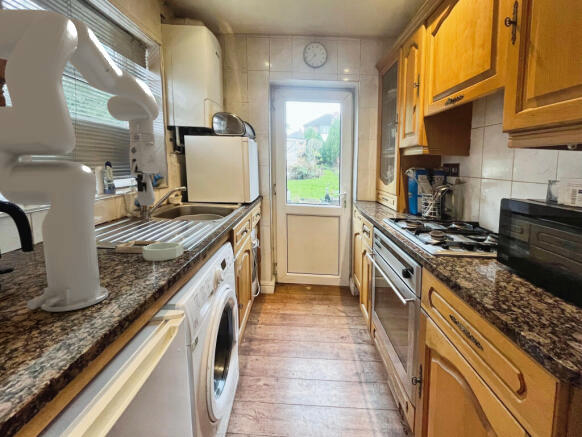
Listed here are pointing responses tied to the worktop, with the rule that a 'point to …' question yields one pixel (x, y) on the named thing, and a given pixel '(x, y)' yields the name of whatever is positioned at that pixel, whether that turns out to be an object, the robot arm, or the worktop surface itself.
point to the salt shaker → (148, 196)
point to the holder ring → (162, 251)
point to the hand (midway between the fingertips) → (145, 193)
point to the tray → (129, 249)
